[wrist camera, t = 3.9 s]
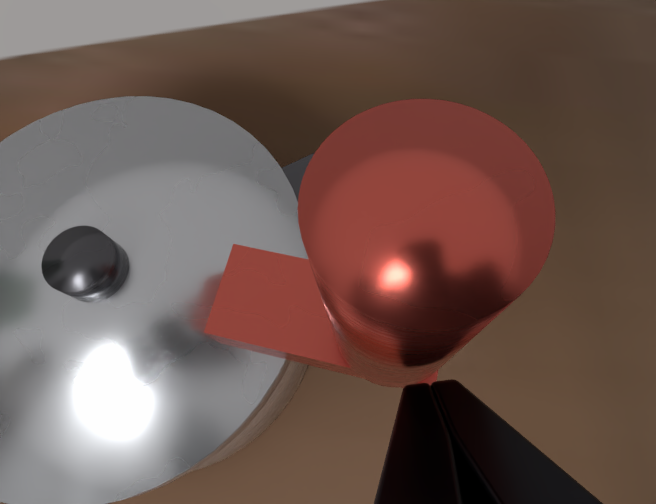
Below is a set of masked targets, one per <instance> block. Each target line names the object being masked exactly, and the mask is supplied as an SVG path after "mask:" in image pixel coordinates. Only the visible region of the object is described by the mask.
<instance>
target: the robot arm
mask: <svg viewBox="0 0 656 504" xmlns="http://www.w3.org/2000/svg"><path fill="white" fill-rule="evenodd" d="M374 504H603V503H602V502H600V501H599V500H598V499H597V498H596V497H594V496H593V495H592V494H591V493H590V492H589V491H587V490H586V489H585V488H584V487H583V486H581V485H580V484H579V483H578V482H577V481H576V480H574V479H573V478H572V477H571V476H570V475H568V474H567V473H566V472H565V471H564V470H563V469H561V468H560V467H559V466H558V465H557V464H555V463H554V462H553V461H552V460H551V459H549V458H548V457H547V456H546V455H545V454H544V453H542V452H541V451H540V450H539V449H538V448H536V447H535V446H534V445H533V444H532V443H531V442H529V441H528V440H527V439H526V438H525V437H523V436H522V435H521V434H520V433H519V432H517V431H516V430H515V429H514V428H513V427H512V426H510V425H509V424H508V423H507V422H506V421H504V420H503V419H502V418H501V417H500V416H499V415H497V414H496V413H495V412H494V411H493V410H491V409H490V408H489V407H488V406H487V405H485V404H484V403H483V402H482V401H481V400H480V399H478V398H477V397H476V396H475V395H474V394H472V393H471V392H470V391H469V390H468V389H467V388H465V387H464V386H463V385H462V384H461V383H459V382H458V381H456V380H444V381H436V382H433V383H431V385H429V384H428V383H418V384H410V385H406V386H405V387H404V388H403V392H402V395H401V399H400V403H399V407H398V411H397V415H396V419H395V423H394V427H393V431H392V435H391V439H390V443H389V447H388V450H387V454H386V458H385V462H384V466H383V470H382V474H381V478H380V482H379V486H378V490H377V494H376V498H375V502H374Z"/></svg>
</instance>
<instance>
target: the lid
mask: <svg viewBox="0 0 656 504" xmlns="http://www.w3.org/2000/svg"><path fill="white" fill-rule="evenodd" d="M554 230H555V205H554V198H553V193H552V190H551V186H550V183H549V180H548V178H547V176H546V173H545V171H544V169H543V167H542V165H541V164H540V162H539V160H538V159H537V157H536V156H535V154H534V153H533V152H532V150H531V149H530V148H529V147H528V145H527V144H526V143H525V142H524V141H523V140H522V139H521V138H520V137H519V136H518V135H517V134H516V133H515V132H514V131H512V130H511V129H510V128H508V127H507V126H506V125H504V124H503V123H502V122H500V121H498V120H497V119H495V118H493V117H491V116H490V115H488V114H486V113H484V112H481V111H479V110H477V109H475V108H472V107H469V106H465V105H462V104H459V103H455V102H450V101H445V100H436V99H408V100H400V101H395V102H390V103H386V104H382V105H379V106H376V107H373V108H371V109H368V110H366V111H364V112H362V113H360V114H358V115H356V116H354V117H352V118H351V119H349V120H348V121H346V122H345V123H343V124H342V125H341V126H339V127H338V128H337V129H336V130H335V131H333V132H332V133H331V134H330V135H329V136H328V137H327V138H326V139H325V140H324V142H323V143H322V144H321V145H320V147H319V148H318V149H317V151H316V152H315V153H314V155H313V157H312V159H311V160H310V162H309V164H308V166H307V168H306V171H305V173H304V176H303V179H302V182H301V186H300V191H299V197H298V201H297V199H296V196H295V193H294V191H293V188H292V186H291V184H290V183H289V181H288V179H287V177H286V176H285V174H284V172H283V170H282V168H281V167H280V166H279V164H278V163H277V162H276V160H275V159H274V158H273V157H272V155H271V154H270V153H269V151H268V150H267V149H266V148H265V147H264V146H263V145H262V144H261V143H260V142H259V141H258V140H257V139H255V138H254V137H253V136H252V135H251V134H250V133H249V132H247V131H246V130H244V129H243V128H242V127H240V126H239V125H237V124H236V123H235V122H233V121H231V120H229V119H228V118H226V117H224V116H222V115H220V114H218V113H216V112H214V111H212V110H209V109H206V108H203V107H201V106H198V105H195V104H192V103H188V102H184V101H179V100H175V99H170V98H160V97H150V96H132V97H118V98H109V99H101V100H97V101H93V102H88V103H84V104H79V105H76V106H73V107H70V108H67V109H64V110H61V111H58V112H55V113H53V114H51V115H49V116H46V117H44V118H42V119H40V120H37V121H35V122H33V123H31V124H29V125H28V126H26V127H24V128H22V129H21V130H19V131H17V132H15V133H14V134H12V135H10V136H9V137H7V138H6V139H4V140H3V141H1V142H0V502H3V503H8V504H107V503H111V502H115V501H120V500H124V499H127V498H131V497H135V496H138V495H141V494H144V493H146V492H149V491H151V490H154V489H157V488H159V487H162V486H164V485H167V484H169V483H171V482H173V481H175V480H176V479H178V478H180V477H182V476H184V475H186V474H187V473H189V472H191V471H193V470H195V469H196V468H198V467H199V466H201V465H202V464H203V463H205V462H206V461H208V460H209V459H210V458H212V457H213V456H214V455H216V454H217V453H219V452H220V451H221V450H223V449H224V448H225V447H226V446H227V445H228V444H229V443H230V442H231V441H232V440H233V439H234V438H236V437H237V436H238V435H239V434H240V433H241V432H242V431H243V430H244V429H245V428H246V427H247V426H248V425H249V423H250V422H251V421H252V420H253V419H254V417H255V416H256V415H257V414H258V413H259V412H260V410H261V409H262V408H263V407H264V406H265V404H266V403H267V401H268V400H269V398H270V397H271V395H272V394H273V392H274V391H275V389H276V387H277V386H278V384H279V383H280V381H281V380H282V378H283V376H284V374H285V372H286V370H287V368H288V366H289V364H290V362H291V361H295V362H299V363H303V364H307V365H311V366H315V367H319V368H323V369H328V370H332V371H336V372H340V373H344V374H348V375H352V376H356V377H360V378H364V379H366V380H368V381H370V382H372V383H375V384H378V385H381V386H387V387H401V388H404V387H405V386H406V385H410V384H418V383H428V384H429V385H431V383H433V382H436V380H437V374H438V369H439V368H440V367H442V366H443V365H444V364H445V363H446V362H447V361H448V360H449V359H450V358H451V357H453V356H454V355H455V354H456V353H457V352H458V351H459V350H460V349H461V348H463V347H464V346H465V345H466V344H467V343H468V342H469V341H470V340H471V339H472V338H474V337H475V336H476V335H477V334H478V333H479V332H480V331H481V330H482V329H483V328H485V327H486V326H487V325H488V324H489V323H490V322H491V321H492V320H493V319H495V318H496V317H497V316H498V315H499V314H500V313H501V312H502V311H503V310H504V309H506V308H507V307H508V306H509V305H510V304H511V303H512V302H513V301H514V300H515V299H517V298H518V297H519V296H520V295H521V294H522V293H523V292H524V291H525V290H526V289H527V288H528V287H529V286H530V284H531V283H532V282H533V280H534V279H535V278H536V276H537V275H538V274H539V272H540V271H541V269H542V267H543V265H544V263H545V261H546V259H547V257H548V254H549V251H550V248H551V245H552V242H553V236H554Z"/></svg>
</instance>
